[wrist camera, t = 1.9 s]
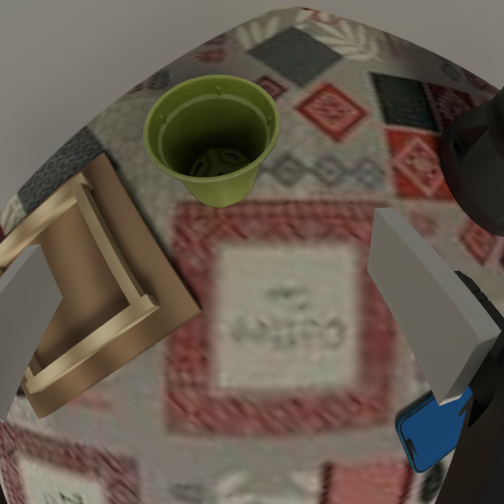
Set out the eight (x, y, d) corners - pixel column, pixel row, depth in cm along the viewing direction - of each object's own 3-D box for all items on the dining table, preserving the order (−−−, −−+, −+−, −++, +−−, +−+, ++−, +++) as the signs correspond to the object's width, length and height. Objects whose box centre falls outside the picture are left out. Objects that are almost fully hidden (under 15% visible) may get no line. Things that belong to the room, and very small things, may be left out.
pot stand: (109, 159, 29) (95, 142, 26) (203, 311, 26) (195, 308, 22) (-15, 269, 27) (-35, 263, 23) (47, 415, 23) (26, 422, 20)
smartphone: (517, 388, 23) (417, 477, 21) (512, 388, 24) (412, 474, 22) (502, 334, 24) (395, 423, 23) (497, 334, 25) (391, 420, 23)
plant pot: (197, 124, 30) (181, 64, 21) (287, 151, 29) (297, 91, 21) (154, 205, 28) (119, 159, 19) (251, 240, 27) (249, 202, 19)
